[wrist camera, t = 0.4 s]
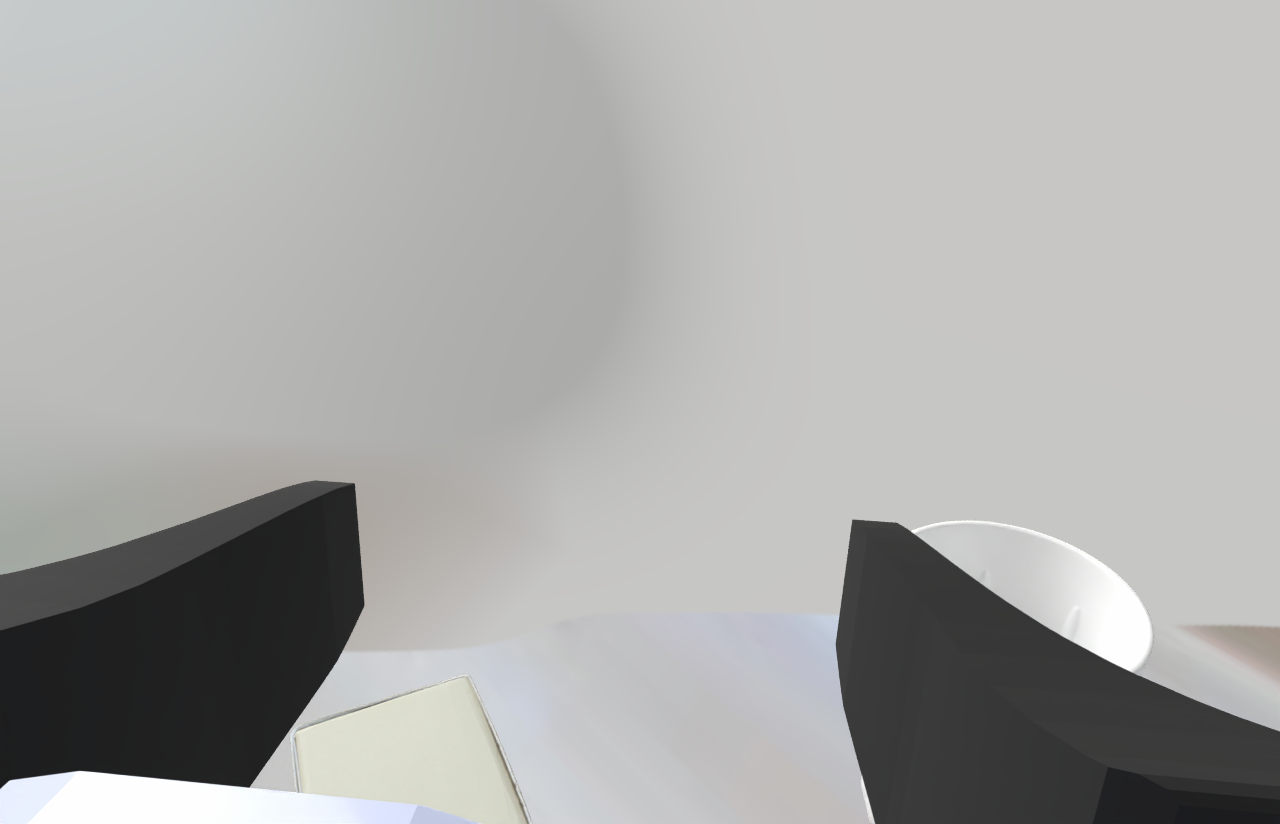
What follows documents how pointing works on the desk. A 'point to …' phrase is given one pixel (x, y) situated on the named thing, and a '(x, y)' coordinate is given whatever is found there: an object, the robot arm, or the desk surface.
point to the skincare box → (413, 754)
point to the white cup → (1049, 588)
